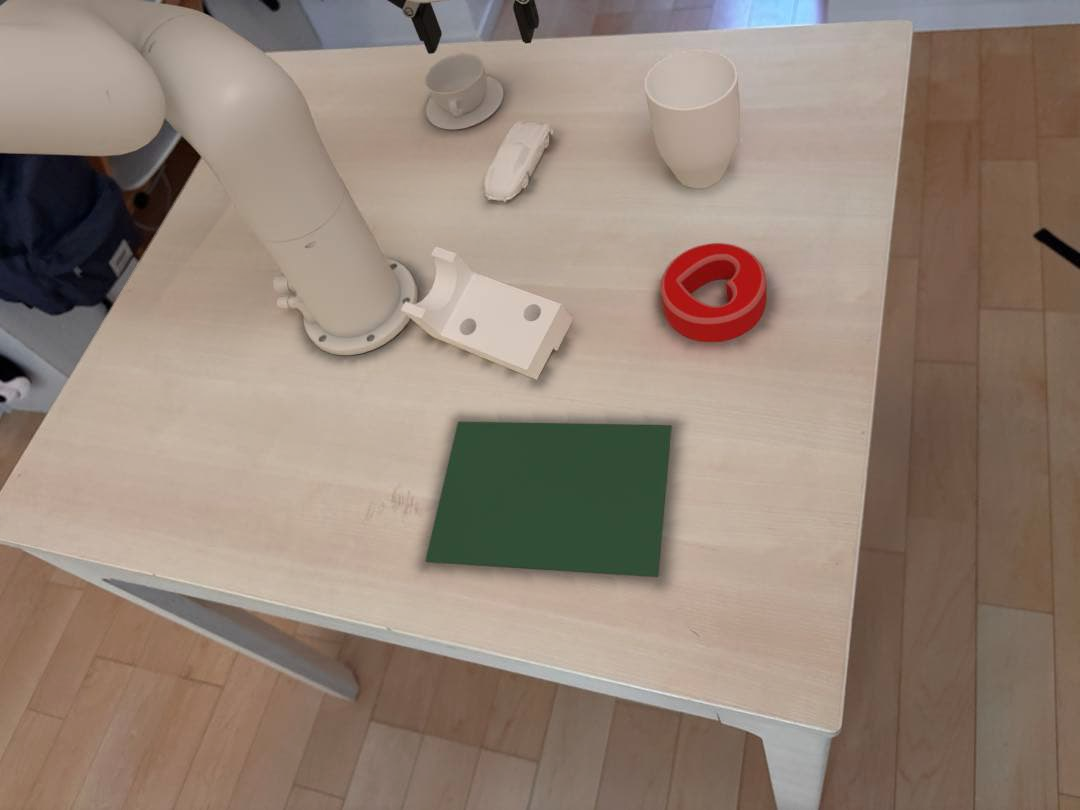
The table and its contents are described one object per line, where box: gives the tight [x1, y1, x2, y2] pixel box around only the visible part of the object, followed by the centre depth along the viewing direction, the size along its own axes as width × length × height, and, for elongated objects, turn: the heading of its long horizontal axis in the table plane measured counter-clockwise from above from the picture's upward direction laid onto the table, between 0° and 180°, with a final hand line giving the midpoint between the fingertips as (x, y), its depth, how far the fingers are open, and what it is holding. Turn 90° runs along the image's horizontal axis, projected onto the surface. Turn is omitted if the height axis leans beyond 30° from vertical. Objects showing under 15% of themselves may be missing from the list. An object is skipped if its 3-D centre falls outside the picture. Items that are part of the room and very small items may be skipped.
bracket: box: [401, 246, 574, 381], centre depth 83 cm, size 13×7×8 cm, turn 57°
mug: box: [643, 48, 741, 190], centre depth 88 cm, size 12×9×12 cm
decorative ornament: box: [659, 242, 767, 343], centre depth 81 cm, size 10×10×3 cm
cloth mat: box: [425, 421, 672, 578], centre depth 75 cm, size 20×14×1 cm
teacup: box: [424, 52, 504, 130], centre depth 106 cm, size 10×10×5 cm
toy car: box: [483, 120, 554, 203], centre depth 98 cm, size 5×12×4 cm, turn 158°
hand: (482, 39), depth 83 cm, fingers open, 9 cm apart
